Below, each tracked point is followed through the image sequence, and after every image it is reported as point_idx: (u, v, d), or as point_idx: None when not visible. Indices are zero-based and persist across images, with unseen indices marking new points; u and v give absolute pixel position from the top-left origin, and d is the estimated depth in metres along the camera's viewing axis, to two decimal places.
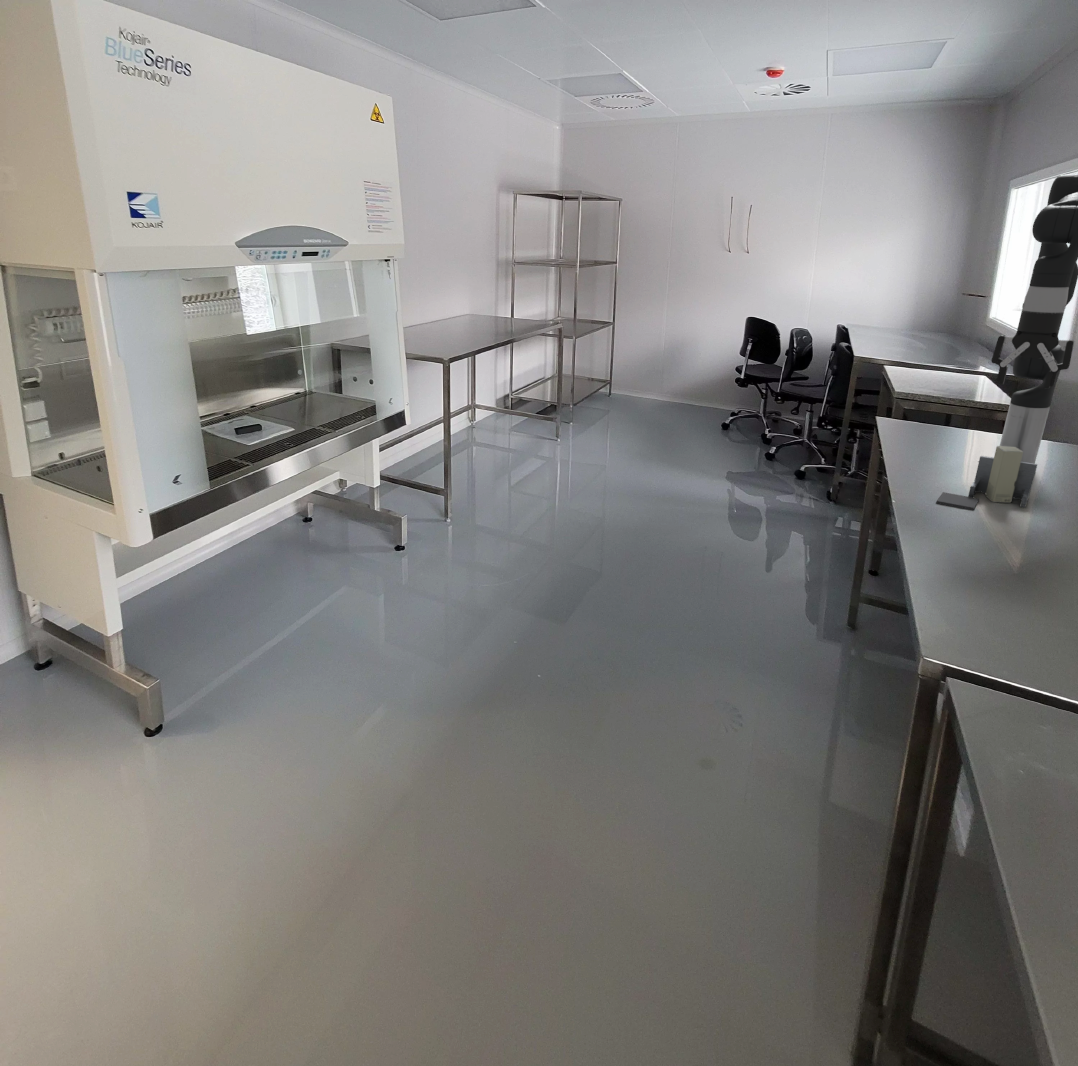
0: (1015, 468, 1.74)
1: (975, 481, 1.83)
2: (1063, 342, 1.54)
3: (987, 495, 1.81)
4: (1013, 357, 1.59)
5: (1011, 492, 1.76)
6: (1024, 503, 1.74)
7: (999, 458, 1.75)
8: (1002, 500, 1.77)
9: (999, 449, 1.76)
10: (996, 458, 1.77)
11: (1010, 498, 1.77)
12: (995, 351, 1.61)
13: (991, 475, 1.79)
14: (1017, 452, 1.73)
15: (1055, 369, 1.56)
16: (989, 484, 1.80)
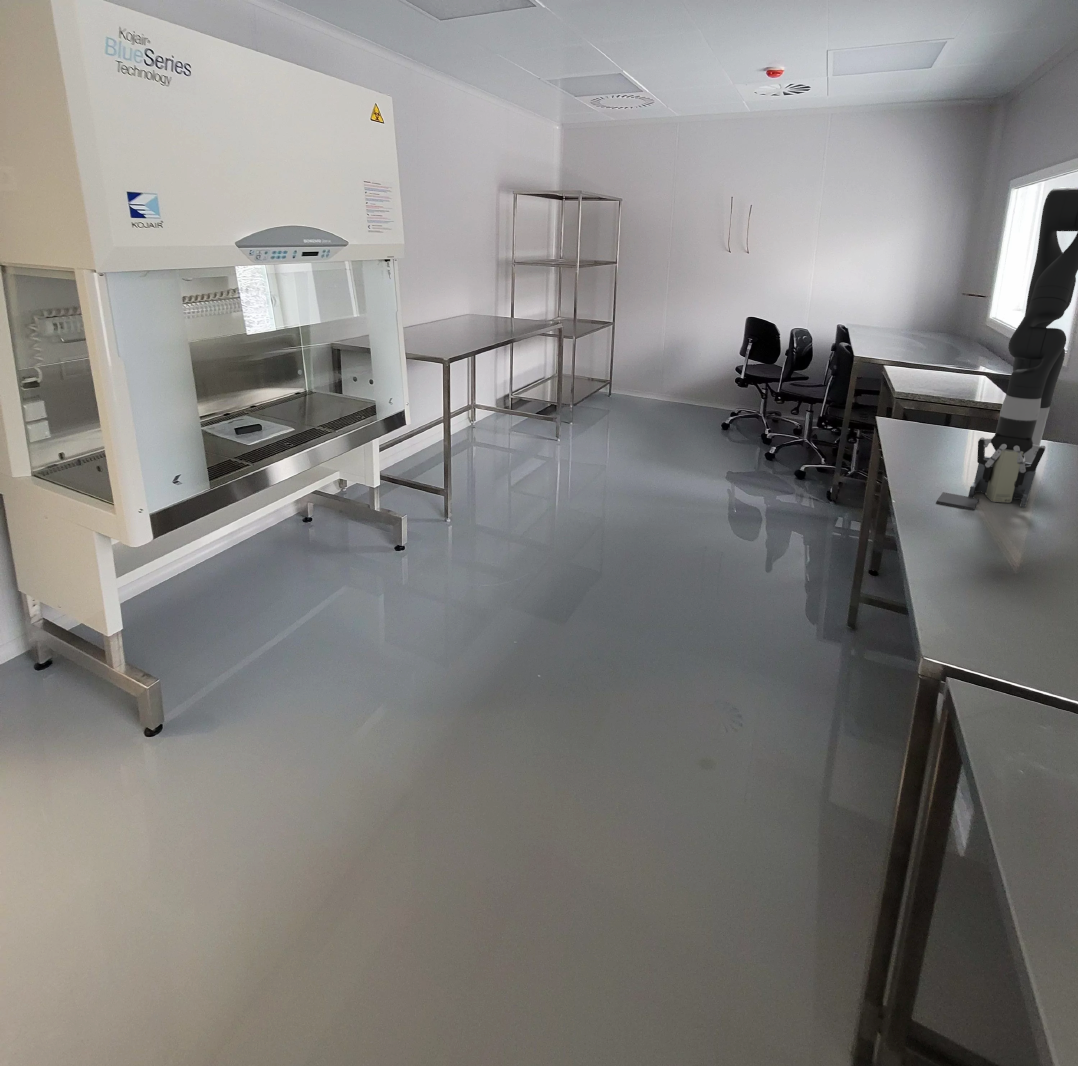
0: (1015, 468, 1.74)
1: (975, 481, 1.83)
2: (1036, 447, 1.71)
3: (987, 495, 1.81)
4: (995, 458, 1.76)
5: (1011, 492, 1.76)
6: (1024, 503, 1.74)
7: (999, 458, 1.75)
8: (1002, 500, 1.77)
9: None
10: None
11: (1010, 498, 1.77)
12: (978, 453, 1.78)
13: (991, 475, 1.79)
14: (1017, 452, 1.73)
15: (1023, 471, 1.73)
16: (989, 483, 1.80)
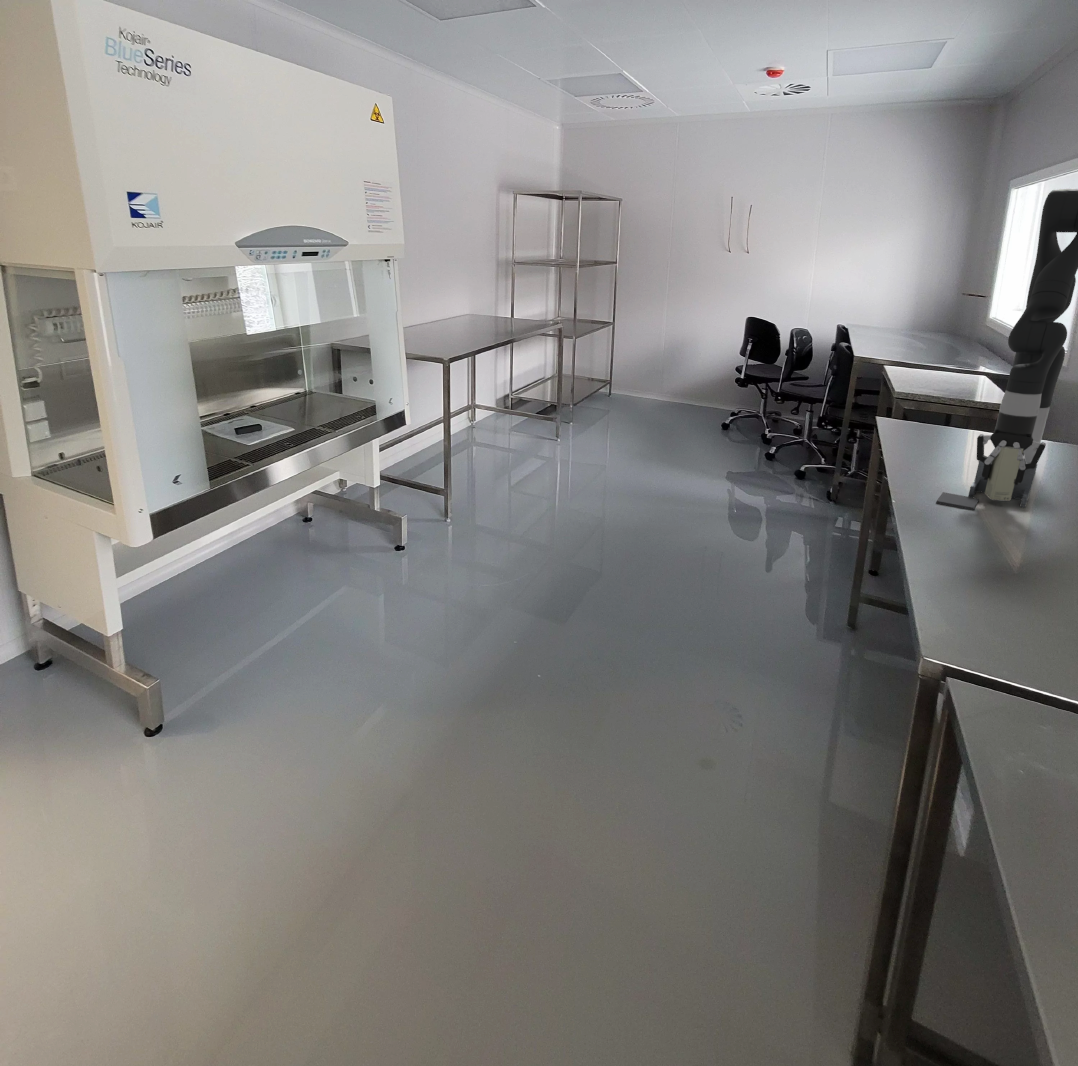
0: (1015, 465, 1.70)
1: (975, 481, 1.83)
2: (1036, 444, 1.68)
3: (986, 493, 1.77)
4: (994, 455, 1.72)
5: (1010, 490, 1.73)
6: (1024, 503, 1.74)
7: (999, 455, 1.72)
8: (1001, 498, 1.74)
9: None
10: None
11: (1009, 496, 1.73)
12: (978, 450, 1.75)
13: (991, 472, 1.76)
14: (1017, 449, 1.69)
15: (1023, 468, 1.70)
16: (989, 481, 1.76)
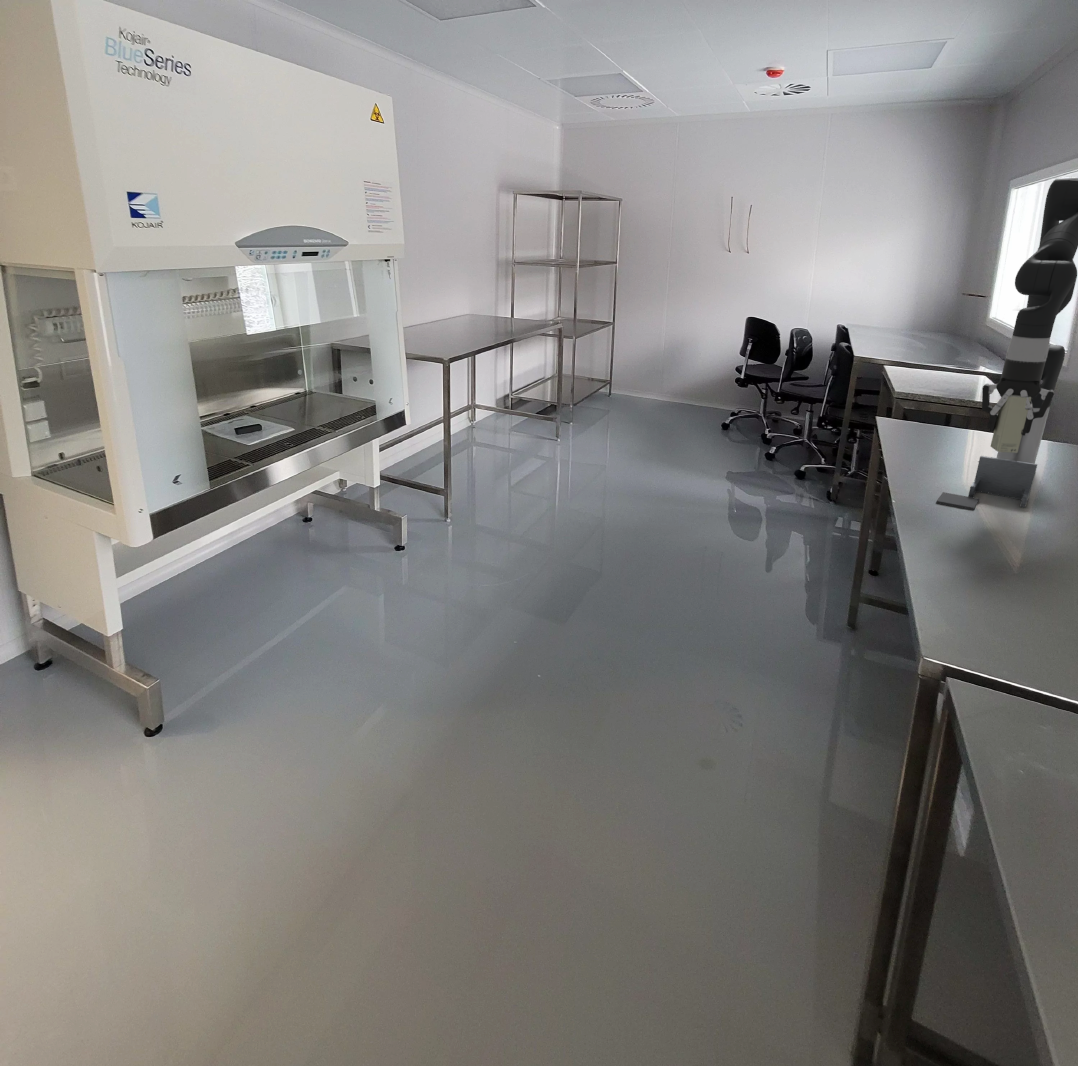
0: (1022, 415, 1.63)
1: (975, 481, 1.83)
2: (1044, 391, 1.60)
3: (992, 445, 1.70)
4: (1001, 404, 1.65)
5: (1018, 441, 1.65)
6: (1024, 503, 1.74)
7: (1006, 404, 1.64)
8: (1008, 450, 1.66)
9: None
10: None
11: (1017, 448, 1.66)
12: (983, 400, 1.67)
13: (997, 424, 1.68)
14: (1025, 397, 1.62)
15: (1031, 417, 1.63)
16: (995, 433, 1.69)
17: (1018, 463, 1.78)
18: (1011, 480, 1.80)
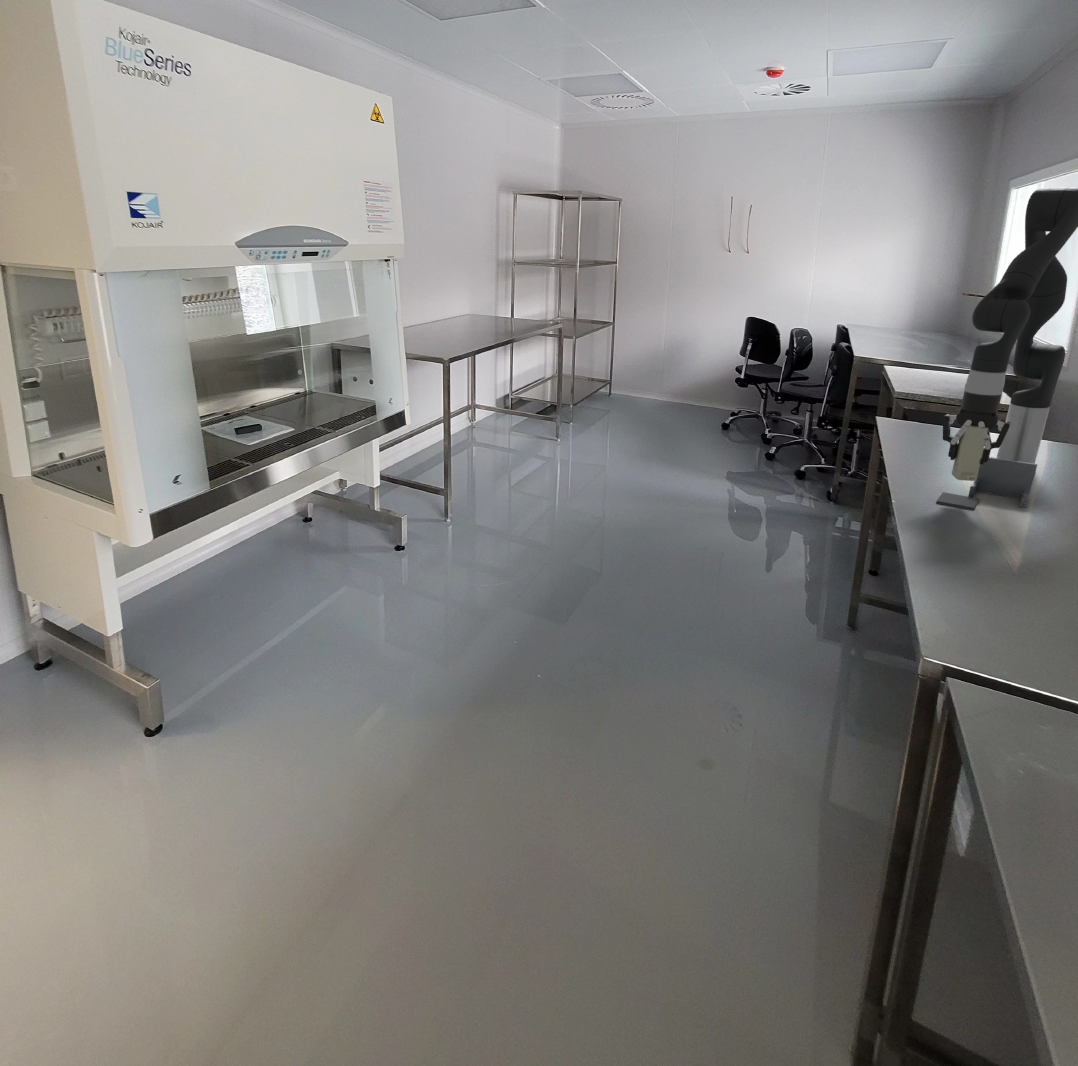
0: (980, 445, 1.70)
1: (975, 481, 1.83)
2: (1001, 423, 1.67)
3: (953, 473, 1.76)
4: (960, 434, 1.72)
5: (976, 470, 1.72)
6: (1024, 503, 1.74)
7: (964, 434, 1.71)
8: (967, 478, 1.73)
9: None
10: (962, 435, 1.73)
11: (975, 476, 1.72)
12: (944, 430, 1.74)
13: (957, 453, 1.75)
14: (982, 428, 1.68)
15: (988, 447, 1.69)
16: (955, 461, 1.75)
17: (1018, 463, 1.78)
18: (1011, 480, 1.80)
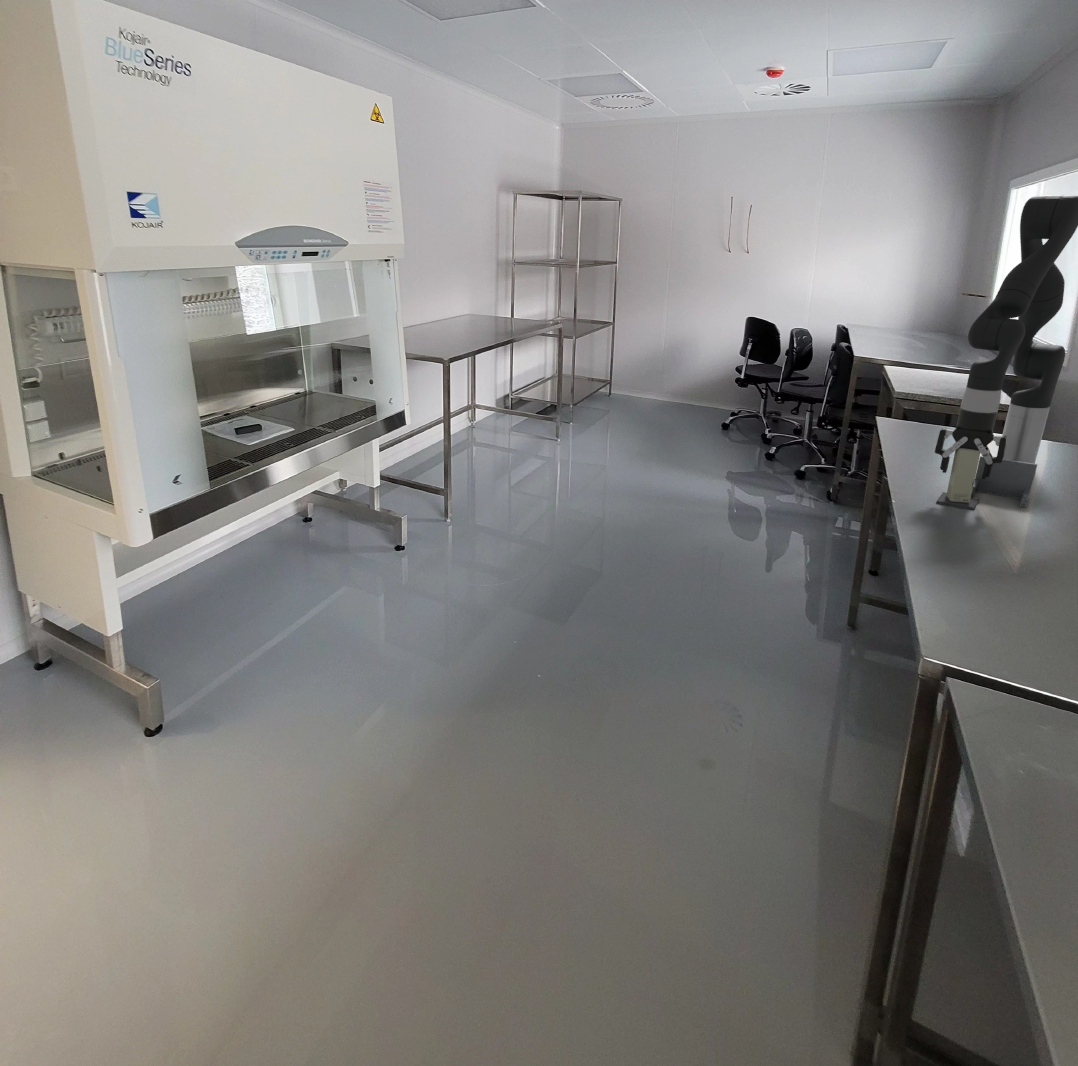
0: (973, 468, 1.72)
1: (975, 481, 1.83)
2: (997, 438, 1.68)
3: (947, 495, 1.79)
4: (953, 449, 1.73)
5: (969, 492, 1.74)
6: (1024, 503, 1.74)
7: (957, 457, 1.73)
8: (960, 500, 1.75)
9: (958, 448, 1.74)
10: (955, 457, 1.75)
11: (969, 498, 1.75)
12: (937, 443, 1.75)
13: (951, 474, 1.77)
14: (974, 451, 1.71)
15: (990, 462, 1.70)
16: (949, 483, 1.78)
17: (1018, 463, 1.78)
18: (1011, 480, 1.80)
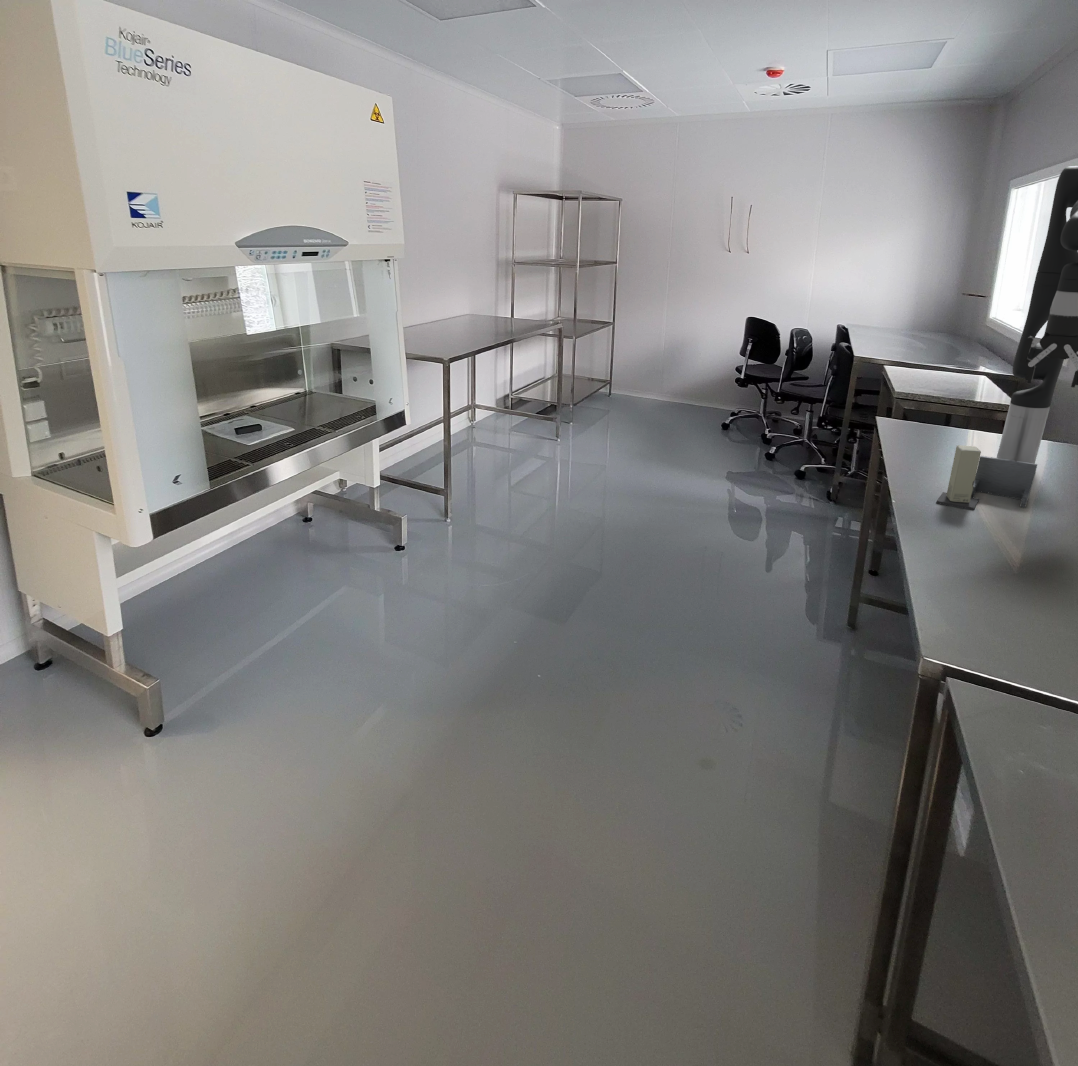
0: (973, 468, 1.72)
1: (975, 481, 1.83)
2: None
3: (947, 495, 1.79)
4: (1041, 358, 1.69)
5: (969, 492, 1.74)
6: (1024, 503, 1.74)
7: (957, 457, 1.73)
8: (960, 500, 1.75)
9: (958, 448, 1.74)
10: (955, 457, 1.75)
11: (969, 498, 1.75)
12: (1023, 352, 1.71)
13: (951, 474, 1.77)
14: (975, 451, 1.71)
15: None
16: (949, 483, 1.78)
17: (1018, 463, 1.78)
18: (1011, 480, 1.80)
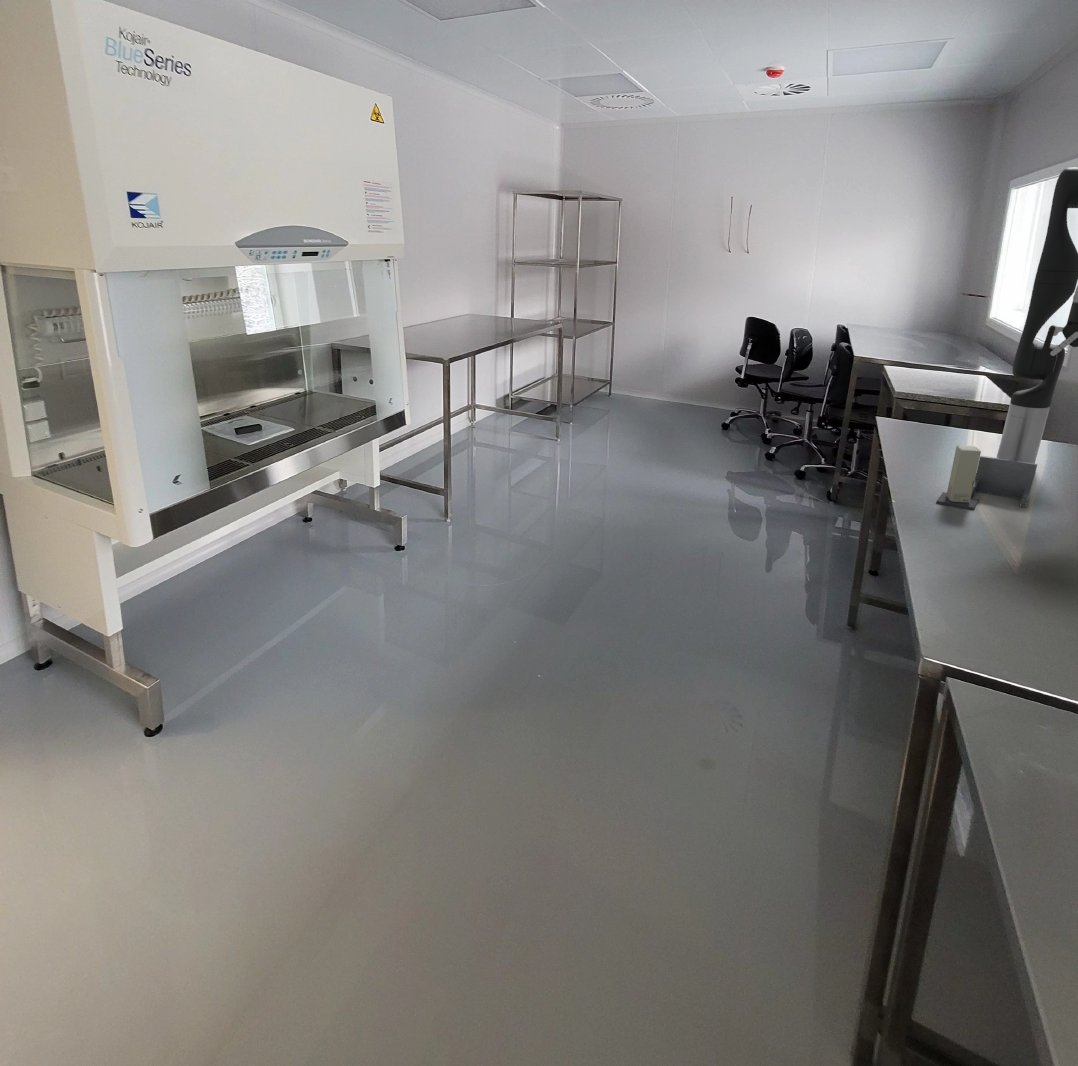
0: (973, 468, 1.72)
1: (975, 481, 1.83)
2: None
3: (947, 495, 1.79)
4: (1063, 346, 1.69)
5: (969, 492, 1.74)
6: (1024, 503, 1.74)
7: (957, 457, 1.73)
8: (960, 500, 1.75)
9: (958, 448, 1.74)
10: (955, 457, 1.75)
11: (969, 498, 1.75)
12: (1046, 341, 1.71)
13: (951, 474, 1.77)
14: (975, 451, 1.71)
15: None
16: (949, 483, 1.78)
17: (1018, 463, 1.78)
18: (1011, 480, 1.80)
